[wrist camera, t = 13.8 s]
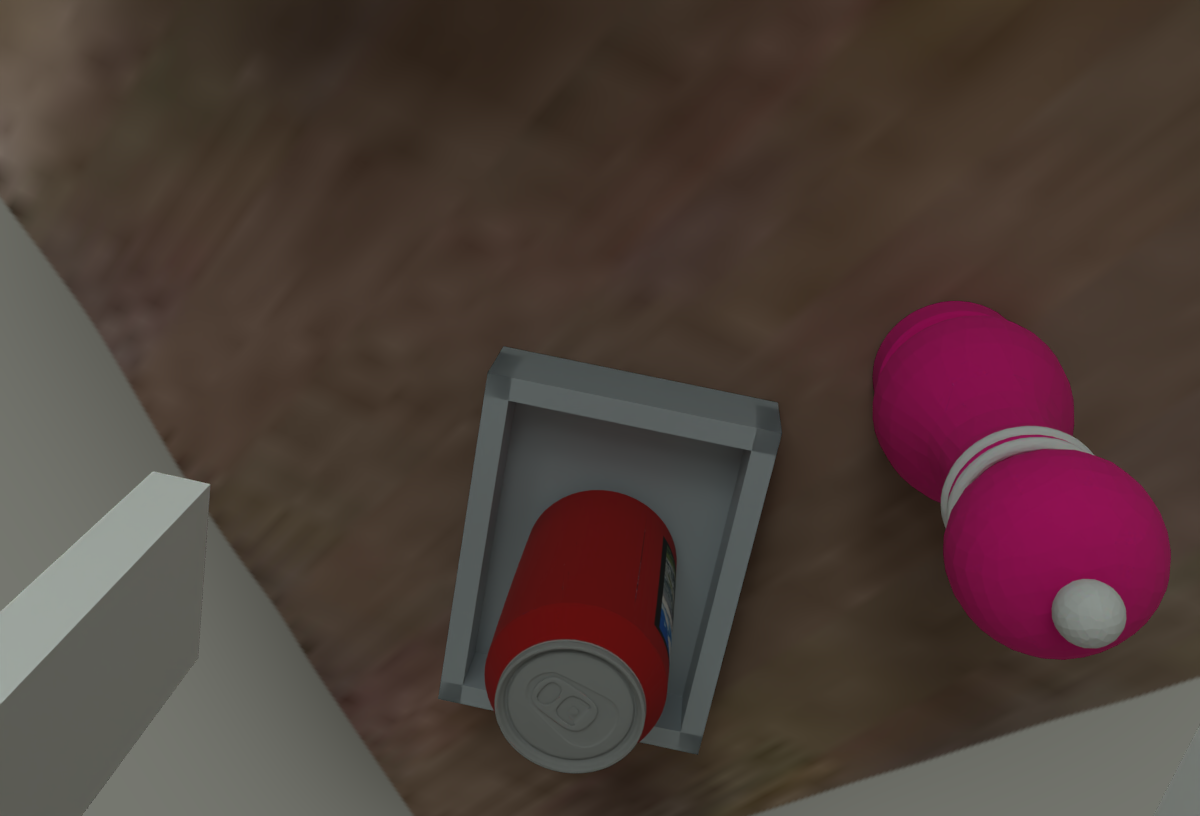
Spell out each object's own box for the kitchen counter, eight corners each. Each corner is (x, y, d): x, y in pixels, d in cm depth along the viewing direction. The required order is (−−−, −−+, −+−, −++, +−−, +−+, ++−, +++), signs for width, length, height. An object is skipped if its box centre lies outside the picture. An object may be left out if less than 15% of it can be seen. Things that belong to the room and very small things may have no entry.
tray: (503, 346, 48) (487, 372, 45) (777, 402, 48) (781, 433, 45) (455, 655, 54) (438, 698, 51) (699, 707, 54) (697, 754, 50)
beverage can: (616, 641, 52) (587, 821, 41) (499, 556, 51) (437, 717, 40) (709, 542, 50) (705, 704, 38) (588, 451, 49) (549, 591, 38)
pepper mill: (1006, 260, 45) (1209, 458, 26) (1061, 415, 47) (1286, 702, 28) (834, 328, 46) (910, 561, 28) (895, 476, 49) (1003, 783, 30)
